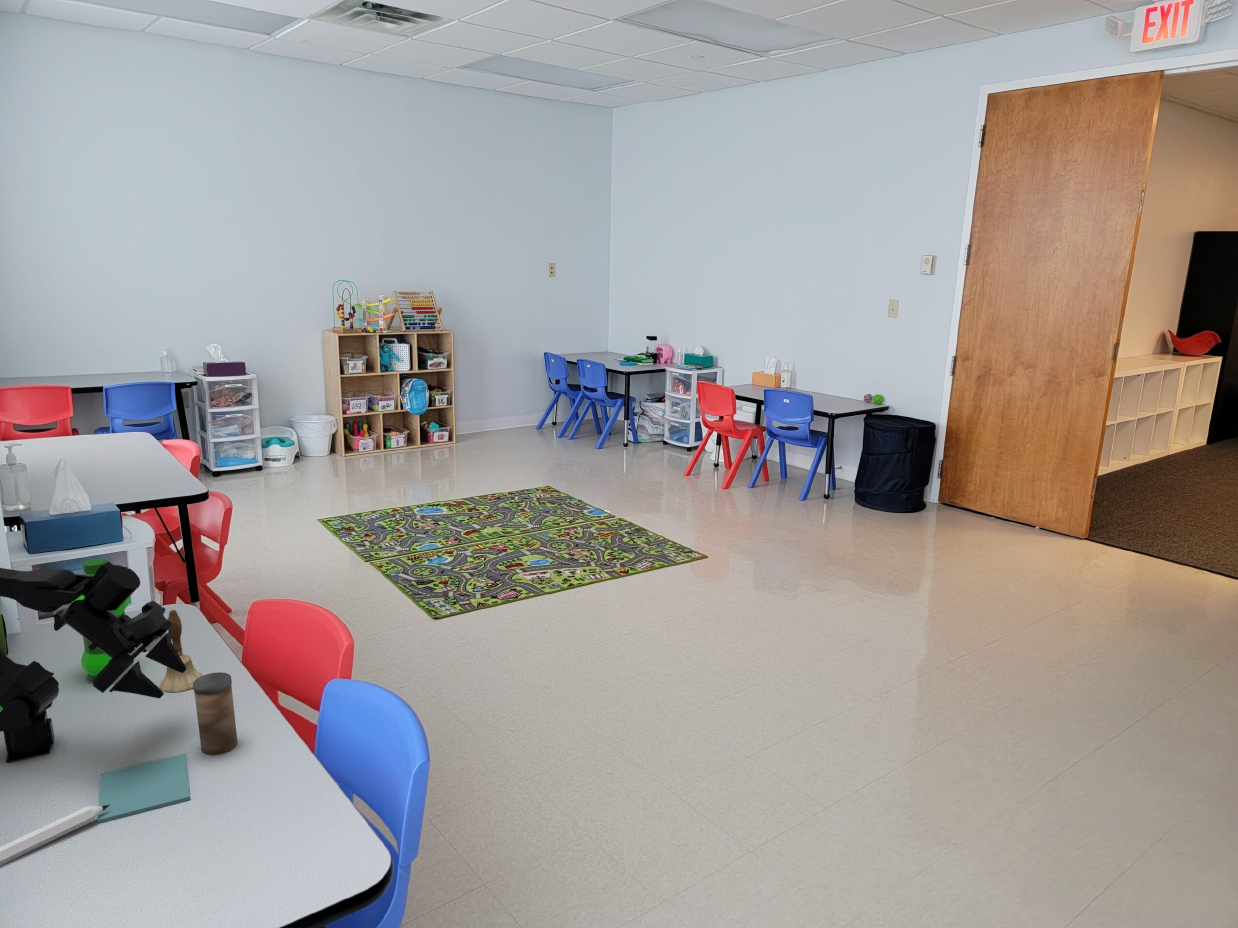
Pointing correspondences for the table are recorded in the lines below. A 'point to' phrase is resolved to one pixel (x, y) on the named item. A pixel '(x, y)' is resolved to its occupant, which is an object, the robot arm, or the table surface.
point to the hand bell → (173, 678)
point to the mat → (143, 787)
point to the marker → (49, 833)
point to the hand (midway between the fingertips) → (173, 683)
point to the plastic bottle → (90, 659)
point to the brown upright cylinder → (215, 713)
